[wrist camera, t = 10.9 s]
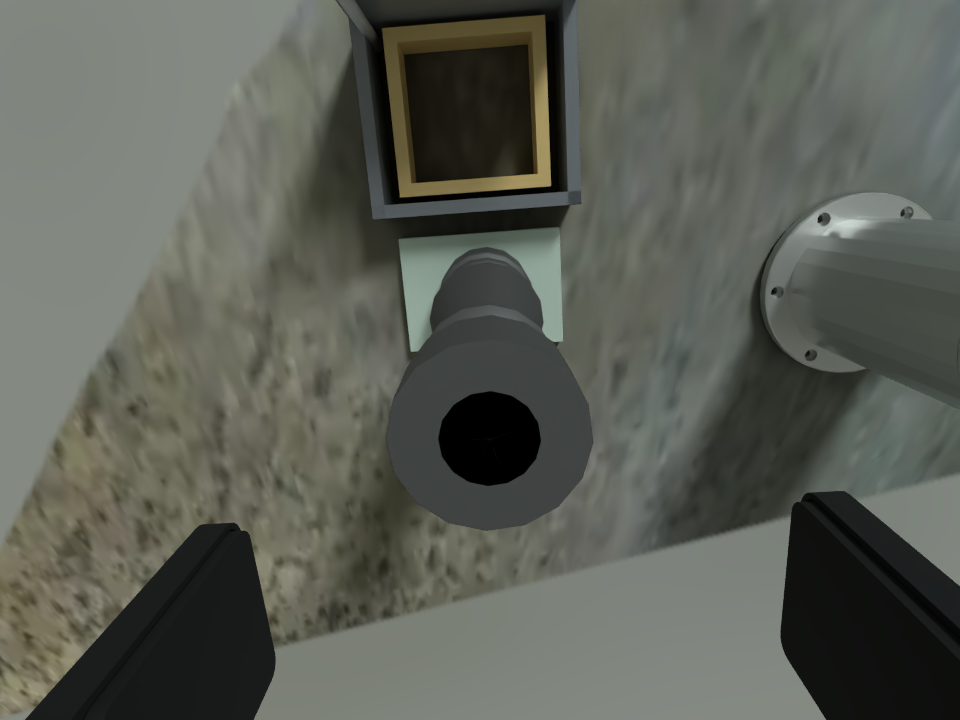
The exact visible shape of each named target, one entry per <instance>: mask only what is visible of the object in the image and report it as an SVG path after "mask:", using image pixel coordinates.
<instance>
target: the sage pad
mask: <svg viewBox="0 0 960 720" xmlns="http://www.w3.org/2000/svg"><path fill="white" fill-rule="evenodd" d="M398 240H399V249H400V258H401V267H402V276H403V285H404V294H405V303H406V312H407V321H408V331H409V340H410V349H411V352H415V351H419V350H420V348H421V347H422V345H423V344H424V343H425V341H426V340H427V339H428V338H429V337H430V336H431V334H432V329H431V325H430V315H431V310H432V305H433V300H434V297H435V295H436V294H437V292H438V291H439V289H440V287H441V283H442V279H443V277H444V275H445V273H446V272H447V271H448V269H449V268H450V266H451V265H452V263H453V262H454V260H455V259H457V258H458V257H460V256H461V255H463V254H464V253H466V252H467V251H469V250H472V249H478V248H484V247H490V248H494V249H498V250H503V251H505V252H507V253H508V254H509V255H511V256H512V257H514V258H515V259H516V260H518V261H519V263H520V264H521V266H522V268H523V269H524V271H525V273H526V274H527V276H528V278H529V279H530V281H531V284H532V287H533V289H534V291H535V292H536V294H537V295H538V297H539V299H540V301H541V307H542V314H543V321H544V323H543V327H542V331H543V333H544V334H545V336H546V337H547V338H549V339H550V340H551V341H553V342H560V341H563V326H562V295H561V263H560V232H559V227H546V228H533V229H519V230H506V231H492V232H478V233H465V234H451V235H438V236H424V237H411V238H400V239H398Z"/></svg>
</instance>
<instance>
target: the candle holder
mask: <svg viewBox="0 0 960 720" xmlns="http://www.w3.org/2000/svg"><path fill="white" fill-rule="evenodd" d="M543 323H544V321H543V314H542V307H541V301H540V299H539V297H538V295H537V294H536V292H535V291H534V289H533V287H532V284H531V281H530V279H529V278H528V276H527V274H526V273H525V271H524V269H523V268H522V266H521V264H520V263H519V261H518V260H516V259H515V258H514V257H512V256H511V255H509V254H508V253H507V252H505V251H503V250H498V249H494V248H490V247H484V248H478V249H472V250H469V251H467V252H466V253H464V254H463V255H461V256H460V257H458V258H457V259H455V260H454V262H453V263H452V265H451V266H450V268H449V269H448V271H447V272H446V273H445V275H444V277H443V279H442V283H441V287H440V289H439V291H438V292H437V294H436V295H435V297H434V300H433V305H432V310H431V315H430V325H431V329H432V334H431V336H430V337H429V338H428V339H427V340H426V341H425V343H424V344H423V345H422V347H421V348H420V350H419V351H418V353H417V354H416V356H415V357H414V358H413V360H412V361H411V363H410V364H409V366H408V367H407V370H406V372H405V374H404V376H403V379H402V381H401V383H400V385H399V388H398V390H397V392H396V394H395V396H394V399H393V402H392V407H391V413H390V418H389V423H388V428H387V433H386V440H387V444H388V449H389V453H390V457H391V461H392V465H393V470H394V473H395V475H396V476H397V478H398V479H399V480H400V482H401V483H402V484H403V486H404V487H405V488H406V490H407V491H408V492H409V494H410V495H411V496H412V498H413V499H414V500H415V502H416V503H417V504H419V505H420V506H422V507H424V508H425V509H427V510H428V511H430V512H432V513H433V514H435V515H437V516H438V517H440V518H441V519H443V520H445V521H446V522H448V523H451V524H456V525H461V526H466V527H471V528H476V529H481V530H486V531H488V530H495V529H502V528H508V527H515V526H522V525H526V524H528V523H529V522H531V521H533V520H535V519H537V518H539V517H541V516H542V515H544V514H546V513H548V512H550V511H552V510H553V509H555V508H557V507H559V505H560V504H561V503H562V502H563V501H564V499H565V498H566V497H567V496H568V495H569V493H570V492H571V491H572V490H573V489H574V488H575V486H576V485H577V484H578V483H579V482H580V480H581V479H582V478H583V475H584V471H585V468H586V465H587V462H588V458H589V455H590V452H591V449H592V445H593V436H592V428H591V420H590V412H589V405H588V403H587V401H586V399H585V397H584V395H583V393H582V391H581V389H580V387H579V385H578V383H577V381H576V379H575V377H574V375H573V373H572V371H571V369H570V368H569V366H568V364H567V363H566V361H565V360H564V358H563V356H562V355H561V353H560V351H559V350H558V348H557V347H556V345H555V343H554V342H553V341H551V340H550V339H549V338H547V337H546V336H545V334H544V333H543V331H542V327H543Z"/></svg>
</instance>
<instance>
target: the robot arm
mask: <svg viewBox="0 0 960 720" xmlns="http://www.w3.org/2000/svg"><path fill="white" fill-rule="evenodd" d="M818 217H819V218H820V219H819V221H817V219H818ZM773 288H774V292H773V293H772V294H771V291H772V289H773ZM760 306H761V314H762V317H763V320H764V324H765V327H766V329H767V330H768V332H769V334H770V336H771V338H772V340H773V341H774V342H775V343H776V344H777V345H778V346H779V348H780V349H781V350H782V351H783V352H785V353H786V354H787V355H789V356H790V357H792V358H793V359H794V360H796V361H798V362H800V363H802V364H804V365H806V366H808V367H811V368H815V369H818V370H821V371H827V372H835V373H843V372H856V371H860V370H864V369H869V370H872V371H874V372H876V373H878V374H881V375H883V376H885V377H887V378H890V379H892V380H894V381H896V382H899V383H901V384H903V385H905V386H908V387H910V388H912V389H914V390H917V391H919V392H921V393H923V394H926V395H928V396H930V397H932V398H935V399H937V400H939V401H941V402H944V403H946V404H948V405H950V406H953V407H955V408H957V409H959V410H960V221H947V220H933V218H932V217H931V216H930V215H929V214H928V213H927V212H926V211H925V210H923V209H922V208H921V207H920V206H919V205H917V204H915V203H913V202H911V201H909V200H907V199H905V198H903V197H900V196H896V195H892V194H887V193H871V192H867V193H853V194H848V195H844V196H840V197H836V198H833V199H830V200H828V201H826V202H824V203H822V204H820V205H818V206H815V207H814V208H813V209H811V210H810V211H808V212H807V213H805V214H804V215H802V216H801V217H800V218H799V219H798V220H797V221H795V222H794V223H793V224H792V225H791V226H790V227H789V228H788V229H787V230H786V231H785V233H784V234H783V235H782V237H781V238H780V239H779V241H778V242H777V244H776V245H775V247H774V248H773V250H772V252H771V254H770V256H769V258H768V260H767V262H766V266H765V269H764V272H763V275H762V279H761V288H760ZM806 352H807V353H806ZM781 643H782V647H783V650H784V653H785V655H786V657H787V659H788V660H789V662H790V664H791V665H792V667H793V668H794V670H795V671H796V673H797V675H798V676H799V678H800V679H801V681H802V682H803V684H804V685H805V687H806V689H807V690H808V692H809V693H810V695H811V696H812V698H813V699H814V701H815V703H816V704H817V706H818V707H819V709H820V711H821V712H822V714H823V715H824V717H825V718H826V720H960V586H959V585H958V584H956V583H955V582H954V581H953V580H952V579H950V578H949V577H948V576H947V575H946V574H944V573H943V572H942V571H941V570H940V569H938V568H937V567H936V566H935V565H934V564H932V563H931V562H930V561H929V560H928V559H926V558H925V557H924V556H923V555H922V554H920V553H919V552H918V551H917V550H915V549H914V548H913V547H912V546H911V545H910V544H908V543H907V542H906V541H905V540H903V539H902V538H901V537H900V536H899V535H897V534H896V533H895V532H894V531H893V530H892V529H890V528H889V527H888V526H887V525H886V524H884V523H883V522H882V521H881V520H880V519H878V518H877V517H876V516H875V515H874V514H872V513H871V512H870V511H869V510H868V509H866V508H865V507H864V506H863V505H862V504H860V503H859V502H858V501H857V500H856V499H854V498H853V497H852V496H851V495H850V494H848V493H846V492H845V491H833V492H813V493H806V494H805V495H804V496H803V498H802V500H801V502H796V503H795V504H794V505H793V508H792V513H791V525H790V536H789V546H788V557H787V567H786V579H785V590H784V600H783V611H782V621H781ZM274 670H275V651H274V646H273V642H272V637H271V632H270V628H269V623H268V618H267V613H266V609H265V604H264V599H263V595H262V590H261V585H260V581H259V576H258V571H257V566H256V562H255V557H254V552H253V548H252V543H251V539H250V535H249V534H248V532H247V531H241V530H240V528H239V526H238V525H237V524H235V523H220V524H203V525H200V526H199V527H197V528H196V529H195V530H194V531H193V532H192V534H191V535H190V536H189V537H188V538H187V539H186V540H185V541H184V543H183V544H182V545H181V546H180V547H179V548H178V549H177V550H176V551H175V553H174V554H173V555H172V556H171V557H170V558H169V559H168V560H167V562H166V563H165V564H164V565H163V566H162V567H161V568H160V569H159V570H158V572H157V573H156V574H155V575H154V576H153V577H152V578H151V579H150V581H149V582H148V583H147V584H146V585H145V586H144V587H143V588H142V590H141V591H140V592H139V593H138V594H137V595H136V596H135V597H134V598H133V600H132V601H131V602H130V603H129V604H128V605H127V606H126V607H125V609H124V610H123V611H122V612H121V613H120V614H119V615H118V616H117V617H116V619H115V620H114V621H113V622H112V623H111V624H110V625H109V626H108V628H107V629H106V630H105V631H104V632H103V633H102V634H101V635H100V636H99V638H98V639H97V640H96V641H95V642H94V643H93V644H92V645H91V647H90V648H89V649H88V650H87V651H86V652H85V653H84V654H83V655H82V657H81V658H80V659H79V660H78V661H77V662H76V663H75V664H74V666H73V667H72V668H71V669H70V670H69V671H68V672H67V673H66V674H65V676H64V677H63V678H62V679H61V680H60V681H59V682H58V683H57V685H56V686H55V687H54V688H53V689H52V690H51V691H50V692H49V693H48V695H47V696H46V697H45V698H44V699H43V700H42V701H41V702H40V704H39V705H38V706H37V707H36V708H35V709H34V710H33V711H32V712H31V714H30V715H29V716H28V717H27V718H26V719H25V720H254V718H255V715H256V713H257V711H258V709H259V707H260V704H261V702H262V700H263V698H264V696H265V693H266V691H267V689H268V687H269V685H270V683H271V680H272V678H273V675H274Z"/></svg>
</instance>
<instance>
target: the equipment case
mask: <svg viewBox="0 0 960 720" xmlns="http://www.w3.org/2000/svg"><path fill="white" fill-rule="evenodd" d="M336 1H337V3H338V4H339V5H340V7H341V8H342V10H343V11H344V12H345V14H346V15H347V16H348V18H349V26H350V34H351V42H352V51H353V59H354V67H355V75H356V83H357V92H358V100H359V108H360V116H361V125H362V133H363V141H364V149H365V157H366V166H367V174H368V182H369V190H370V199H371V207H372V215H373V219H387V218H400V217H413V216H427V215H440V214H454V213H467V212H481V211H494V210H507V209H521V208H534V207H548V206H561V205H575V204H581V173H580V126H579V78H578V31H577V0H336ZM551 21H554V41H555V73H556V105H557V137H558V169H559V192H554V193H541V194H527V195H514V196H501V197H487V198H474V199H461V200H447V201H434V202H421V203H407V204H394V201H393V192H392V183H391V174H390V165H389V156H388V147H387V138H386V129H385V120H384V111H383V102H382V93H381V84H380V75H379V66H378V57H377V52H381V51H382V50H383V43H382V42H381V40H380V38H379V37H378V36H380V35H383V42H384V52H385V61H386V70H387V80H388V89H389V98H390V108H391V117H392V126H393V136H394V145H395V154H396V164H397V173H398V182H399V192H400V198H406V197H420V196H433V195H446V194H459V193H473V192H486V191H499V190H513V189H526V188H539V187H549V186H551V169H550V141H549V112H548V84H547V55H546V27H545V22H551ZM516 45H528V57H529V80H530V103H531V126H532V149H533V172H534V174H529V175H516V176H503V177H490V178H477V179H463V180H450V181H437V182H424V183H416V173H415V163H414V153H413V143H412V133H411V123H410V113H409V103H408V93H407V82H406V72H405V62H404V55H405V54H417V53H429V52H442V51H454V50H466V49H479V48H491V47H503V46H516Z"/></svg>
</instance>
